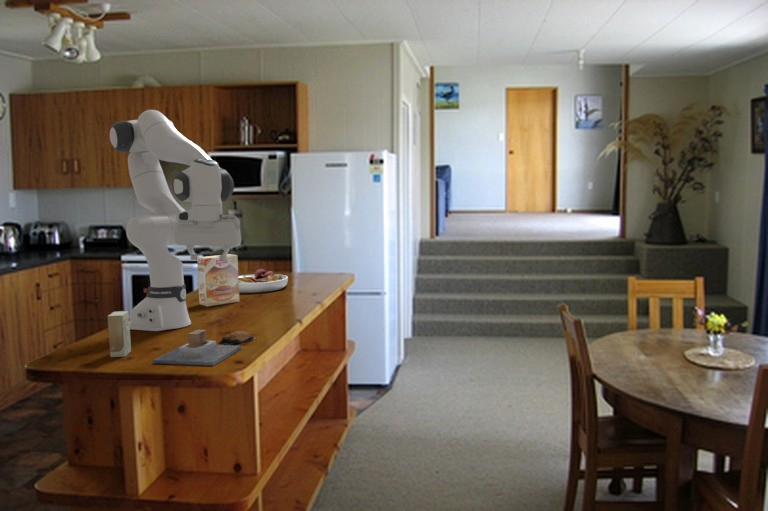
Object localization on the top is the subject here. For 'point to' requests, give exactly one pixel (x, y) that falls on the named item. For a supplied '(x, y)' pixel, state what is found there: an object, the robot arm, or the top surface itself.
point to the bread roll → (237, 338)
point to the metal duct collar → (198, 354)
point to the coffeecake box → (218, 280)
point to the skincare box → (119, 334)
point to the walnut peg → (197, 338)
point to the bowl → (261, 282)
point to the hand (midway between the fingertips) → (208, 260)
